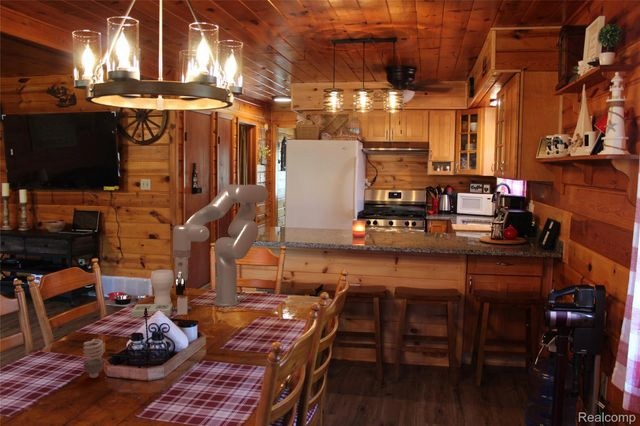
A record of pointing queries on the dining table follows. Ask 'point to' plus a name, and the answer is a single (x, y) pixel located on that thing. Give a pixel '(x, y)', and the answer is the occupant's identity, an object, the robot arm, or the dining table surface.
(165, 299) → the cup
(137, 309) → the outlet board
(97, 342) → the light bulb
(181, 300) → the block
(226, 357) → the dining table surface
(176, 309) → the phone
